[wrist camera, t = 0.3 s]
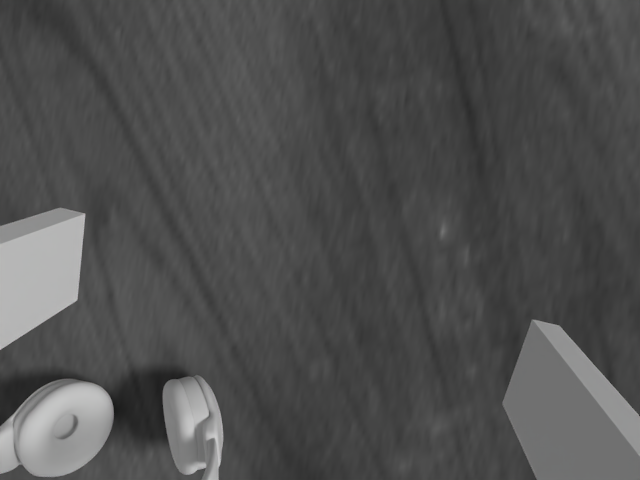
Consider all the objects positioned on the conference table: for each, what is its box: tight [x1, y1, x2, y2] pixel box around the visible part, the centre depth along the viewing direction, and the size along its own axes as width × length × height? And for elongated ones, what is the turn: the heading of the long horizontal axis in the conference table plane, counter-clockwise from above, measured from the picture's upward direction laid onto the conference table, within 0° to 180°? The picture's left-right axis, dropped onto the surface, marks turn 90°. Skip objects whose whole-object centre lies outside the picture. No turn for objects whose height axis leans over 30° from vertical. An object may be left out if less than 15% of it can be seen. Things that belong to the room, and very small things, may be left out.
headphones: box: [0, 375, 223, 480], centre depth 34 cm, size 7×18×20 cm, turn 93°
